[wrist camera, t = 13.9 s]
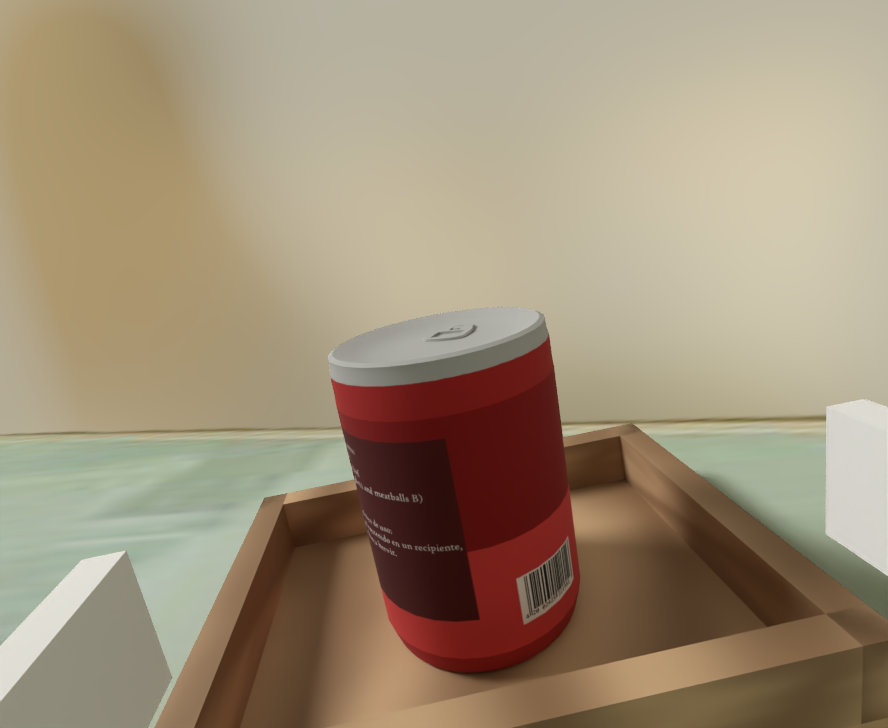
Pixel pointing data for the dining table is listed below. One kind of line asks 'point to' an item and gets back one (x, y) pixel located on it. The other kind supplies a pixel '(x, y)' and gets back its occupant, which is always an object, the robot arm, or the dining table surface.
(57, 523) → the dining table surface
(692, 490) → the tray
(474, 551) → the canned food
